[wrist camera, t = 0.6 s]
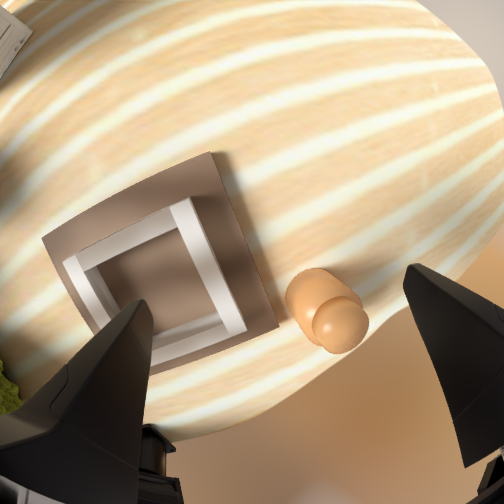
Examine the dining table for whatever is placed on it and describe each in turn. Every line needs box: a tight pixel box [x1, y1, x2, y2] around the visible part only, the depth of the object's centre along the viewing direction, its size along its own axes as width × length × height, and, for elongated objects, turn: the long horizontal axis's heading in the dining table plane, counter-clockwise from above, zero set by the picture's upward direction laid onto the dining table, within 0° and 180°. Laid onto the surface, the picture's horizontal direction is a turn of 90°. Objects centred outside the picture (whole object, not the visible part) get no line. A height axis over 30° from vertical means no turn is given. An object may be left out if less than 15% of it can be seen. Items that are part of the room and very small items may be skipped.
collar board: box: [42, 151, 280, 376], centre depth 20 cm, size 16×16×4 cm
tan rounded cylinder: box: [285, 268, 369, 354], centre depth 22 cm, size 5×5×7 cm
